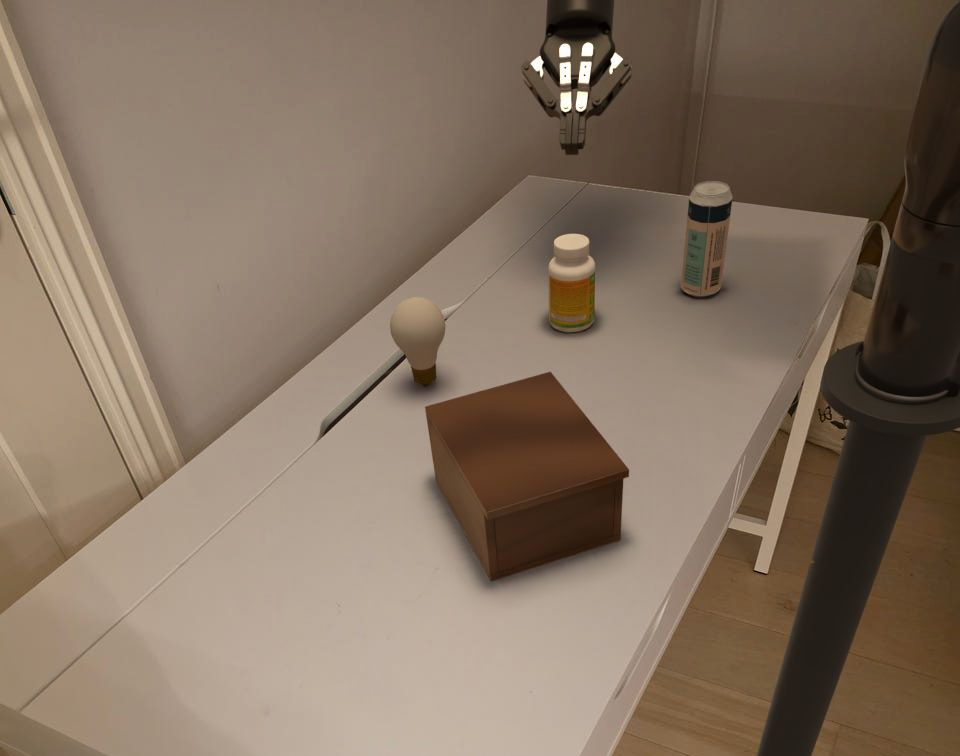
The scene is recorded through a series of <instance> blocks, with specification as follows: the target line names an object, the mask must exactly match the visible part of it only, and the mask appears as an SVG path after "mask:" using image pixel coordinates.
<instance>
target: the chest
mask: <svg viewBox="0 0 960 756" xmlns="http://www.w3.org/2000/svg"><path fill="white" fill-rule="evenodd" d="M425 418H426V424H427V431H428V436H429V444H430V452H431V457H432V464H433V465H432V466H433V471H434V477H435V482H436V483H437V486H438V487H439V489H440V491H441V493H442V495H443V497H444V498H445V500H446V502H447V503H448V506H449V507H450V510H451V511H452V513H453V515H454V516H455V518H456V521H457V522H458V524H459V526H460V527H461V530H462V531H463V534H464V535H465V537H466V538H467V540H468V542H469V544H470V546H471V548H472V550H473V552H474V553H475V555H476V557H477V559H478V561H479V562H480V565H481V566H482V568H483V570H484V571H485V574H486V575H487V577H488V579H489V581H490V582H493V581H497V580H500V579H502V578H506V577H509V576H512V575H515V574H518V573H521V572H525V571H527V570H531V569H534V568H537V567H540V566H543V565H547V564H550V563H552V562H556V561H559V560H562V559H565V558H569V557H571V556H576V555H578V554H581V553H584V552H587V551H591V550H594V549H598V548H600V547H603V546H606V545H609V544H613V543H615V542H618V541H621V539H622V518H623V517H622V516H623V496H624V480H625V478H624V479H621V480H617V481H614V482H611V483H607V484H604V485H601V486H598V487H594V488H591V489H588V490H585V491H581V492H578V493H575V494H571V495H568V496H565V497H562V498H558V499H555V500H552V501H549V502H545V503H542V504H539V505H535V506H532V507H529V508H526V509H522V510H519V511H516V512H513V513H509V514H506V515H503V516H500V517H496V518H493V519H490V520H488V519H487V518H486V516H485V514H484V512H483V511H482V509H481V507H480V506H479V504H478V502H477V500H476V499H475V497H474V495H473V494H472V492H471V490H470V488H469V487H468V485H467V483H466V482H465V480H464V478H463V476H462V475H461V473H460V471H459V470H458V468H457V466H456V464H455V463H454V461H453V459H452V457H451V456H450V454H449V452H448V451H447V449H446V447H445V445H444V444H443V442H442V440H441V439H440V437H439V435H438V433H437V432H436V430H435V428H434V427H433V425H432V423H431V421H430V420H429V418H428V416H427V414H426V413H425Z"/></svg>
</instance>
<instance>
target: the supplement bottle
mask: <svg viewBox="0 0 960 756" xmlns="http://www.w3.org/2000/svg"><path fill="white" fill-rule="evenodd" d="M553 255H554V256H553V258H552V259H551V260H550V261H549V263H548V267H547V268H548V269H547V278H548V279H547V281H548V285H547V286H548V318H549V323H550V326H551V327H552V328H553V329H555V330H557V331H558V332H559V331H560V332H562V333H578V332H582V331H584V330H587V329H588V328H590V327H591V326H592V325H593V324H594V322H595V312H596V311H595V310H596V309H595V308H596V307H595V303H596V297H595V296H596V295H595V294H596V263H595V259H594V258H593V257H592V256H590V239H589V238H588V237H587V235H586V236H585V235H584V234H579V233H566V234H563V235H560V236H558V237H556V238H555V239H554V241H553Z"/></svg>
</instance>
